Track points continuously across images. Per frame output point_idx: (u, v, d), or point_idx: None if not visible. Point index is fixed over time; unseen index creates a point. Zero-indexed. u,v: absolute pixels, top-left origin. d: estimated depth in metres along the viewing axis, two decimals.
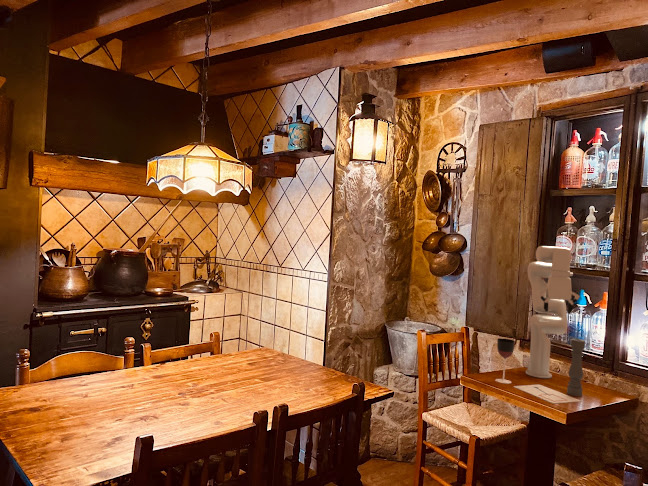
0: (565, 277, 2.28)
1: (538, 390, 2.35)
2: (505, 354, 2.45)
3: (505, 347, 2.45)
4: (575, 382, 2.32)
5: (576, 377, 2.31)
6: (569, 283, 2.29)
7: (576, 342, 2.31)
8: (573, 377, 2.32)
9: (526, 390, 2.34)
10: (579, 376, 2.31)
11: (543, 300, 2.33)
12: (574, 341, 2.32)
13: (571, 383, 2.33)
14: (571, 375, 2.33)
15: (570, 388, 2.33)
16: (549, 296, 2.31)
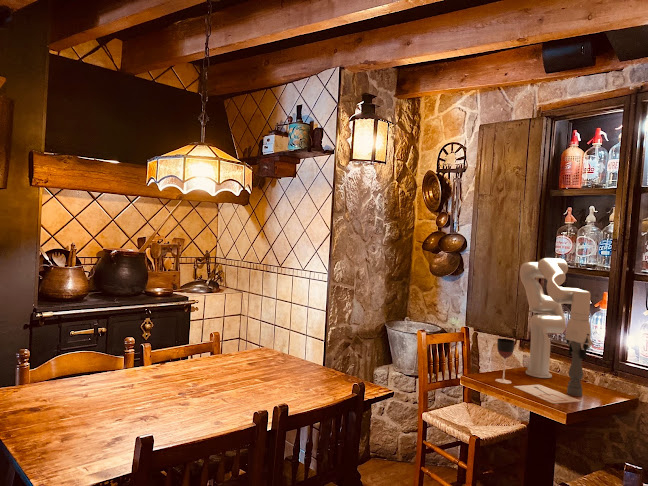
0: None
1: (538, 390, 2.35)
2: (505, 354, 2.45)
3: (505, 347, 2.45)
4: (575, 382, 2.32)
5: (576, 377, 2.31)
6: None
7: (576, 342, 2.31)
8: (573, 377, 2.32)
9: (526, 390, 2.34)
10: (579, 376, 2.31)
11: (587, 348, 2.30)
12: (574, 341, 2.32)
13: (571, 383, 2.33)
14: (571, 375, 2.33)
15: (570, 388, 2.33)
16: None
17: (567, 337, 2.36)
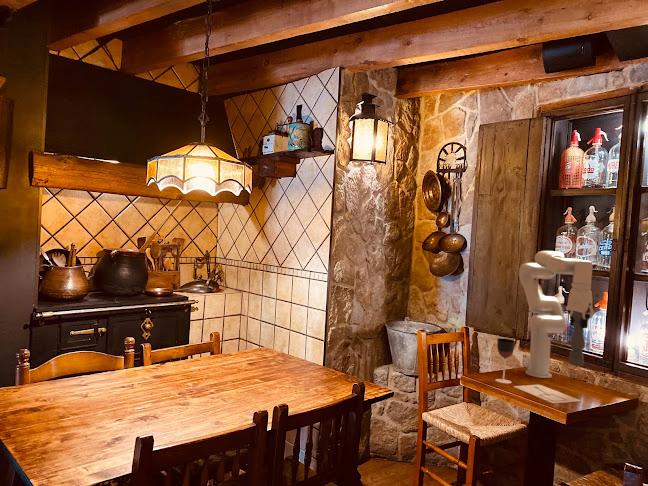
0: None
1: (538, 390, 2.35)
2: (505, 354, 2.45)
3: (505, 347, 2.45)
4: (577, 352, 2.32)
5: (577, 346, 2.31)
6: None
7: (578, 312, 2.31)
8: (575, 347, 2.32)
9: (526, 390, 2.34)
10: (581, 346, 2.31)
11: (589, 317, 2.29)
12: (576, 311, 2.32)
13: (573, 353, 2.33)
14: (573, 345, 2.33)
15: (572, 358, 2.33)
16: None
17: (569, 307, 2.36)
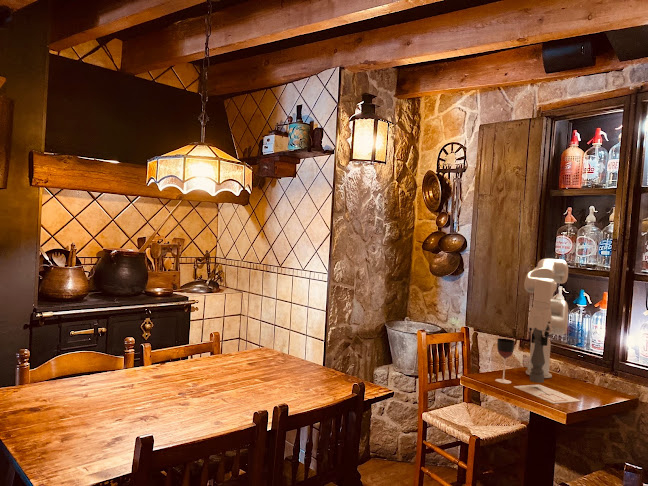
0: None
1: (538, 390, 2.35)
2: (505, 354, 2.45)
3: (505, 347, 2.45)
4: (537, 369, 2.37)
5: (538, 363, 2.37)
6: None
7: (538, 330, 2.37)
8: (535, 364, 2.38)
9: (526, 390, 2.34)
10: (541, 363, 2.36)
11: (548, 335, 2.35)
12: (536, 329, 2.38)
13: (533, 370, 2.38)
14: (533, 362, 2.38)
15: (532, 375, 2.38)
16: None
17: (530, 325, 2.42)
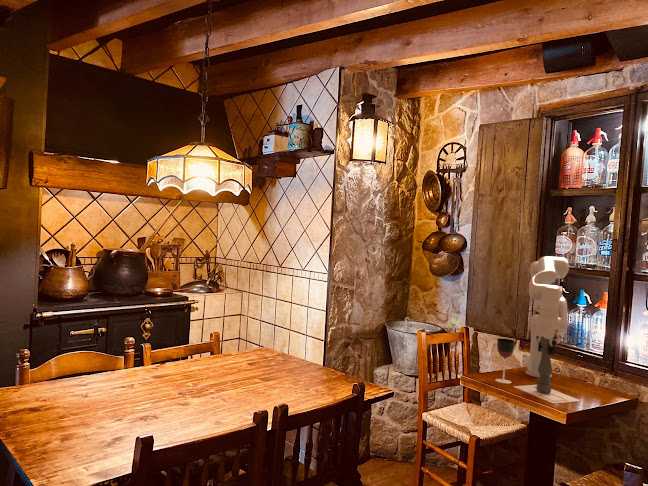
0: None
1: None
2: (505, 354, 2.45)
3: (505, 347, 2.45)
4: (544, 378, 2.31)
5: (545, 373, 2.30)
6: None
7: None
8: (542, 373, 2.31)
9: (526, 390, 2.34)
10: (548, 372, 2.30)
11: (556, 344, 2.29)
12: (543, 337, 2.31)
13: (540, 379, 2.32)
14: (540, 371, 2.32)
15: (539, 384, 2.32)
16: None
17: (536, 333, 2.35)
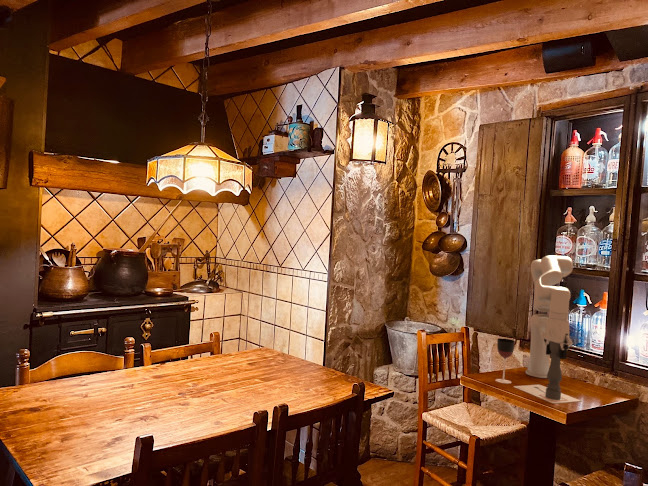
0: None
1: (538, 390, 2.35)
2: (505, 354, 2.45)
3: (505, 347, 2.45)
4: (553, 385, 2.23)
5: (554, 379, 2.23)
6: None
7: (554, 344, 2.23)
8: (551, 380, 2.23)
9: (526, 390, 2.34)
10: (557, 379, 2.22)
11: (567, 348, 2.20)
12: (552, 342, 2.23)
13: (549, 386, 2.24)
14: (549, 378, 2.24)
15: (548, 391, 2.24)
16: None
17: (546, 337, 2.27)
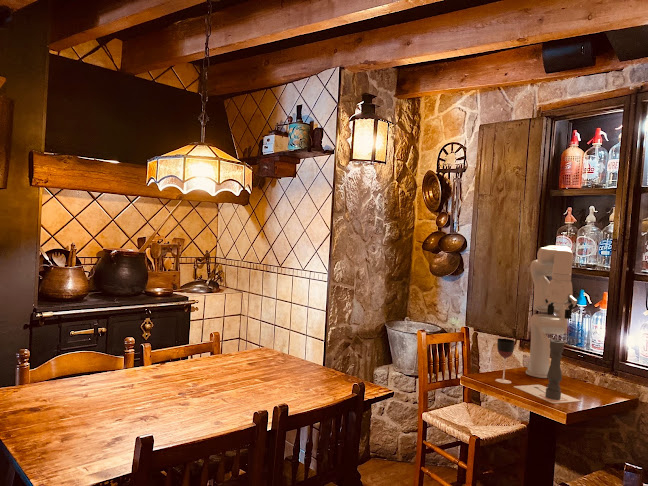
0: None
1: (538, 390, 2.35)
2: (505, 354, 2.45)
3: (505, 347, 2.45)
4: (553, 385, 2.23)
5: (554, 379, 2.23)
6: None
7: (555, 344, 2.23)
8: (551, 380, 2.23)
9: (526, 390, 2.34)
10: (557, 379, 2.22)
11: None
12: (553, 343, 2.23)
13: (549, 386, 2.24)
14: (549, 378, 2.24)
15: (548, 391, 2.24)
16: None
17: (548, 299, 2.27)
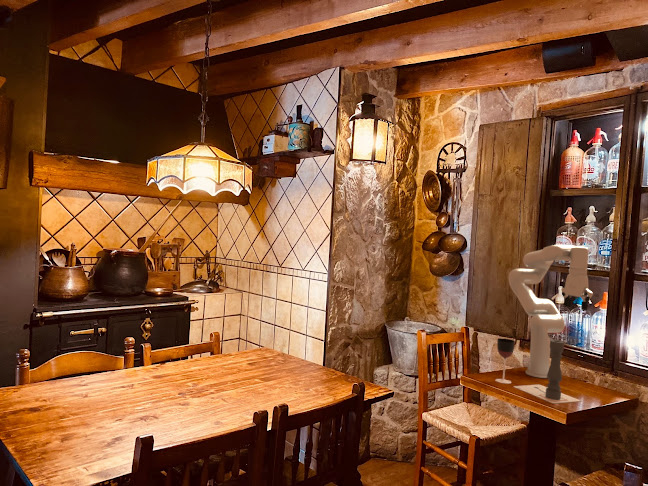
0: None
1: (538, 390, 2.35)
2: (505, 354, 2.45)
3: (505, 347, 2.45)
4: (553, 385, 2.23)
5: (554, 379, 2.23)
6: None
7: (555, 344, 2.23)
8: (551, 380, 2.23)
9: (526, 390, 2.34)
10: (557, 379, 2.22)
11: None
12: (553, 343, 2.23)
13: (549, 386, 2.24)
14: (549, 378, 2.24)
15: (548, 391, 2.24)
16: None
17: (566, 292, 2.45)
